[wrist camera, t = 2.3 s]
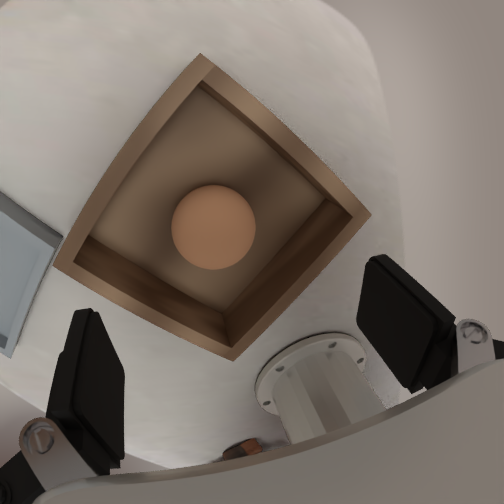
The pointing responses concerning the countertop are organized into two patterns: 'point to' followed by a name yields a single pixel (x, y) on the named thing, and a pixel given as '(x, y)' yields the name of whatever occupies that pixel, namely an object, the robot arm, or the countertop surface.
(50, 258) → the tray
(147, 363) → the countertop surface
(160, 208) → the bin
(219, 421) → the countertop surface
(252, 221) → the ball
